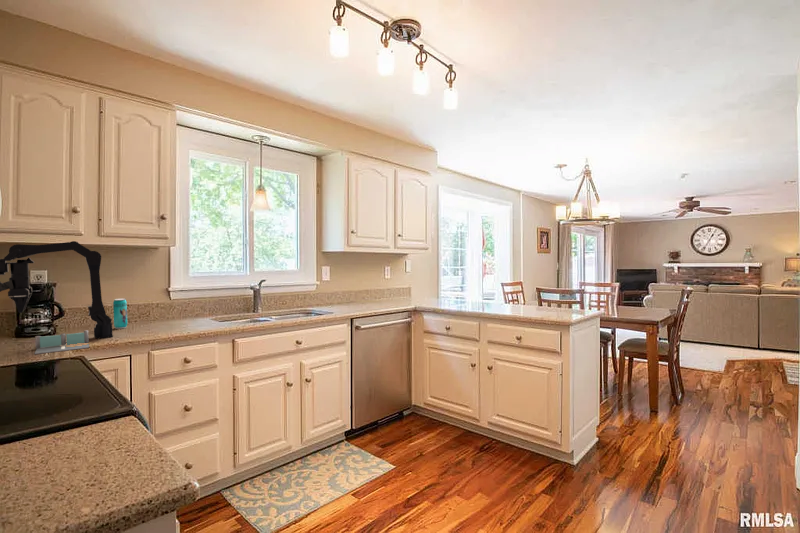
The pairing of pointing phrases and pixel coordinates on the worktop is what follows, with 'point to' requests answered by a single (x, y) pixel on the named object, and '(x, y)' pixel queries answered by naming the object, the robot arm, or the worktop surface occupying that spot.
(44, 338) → the fence gate
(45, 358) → the worktop surface
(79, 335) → the fence fixed
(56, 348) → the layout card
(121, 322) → the beverage can
